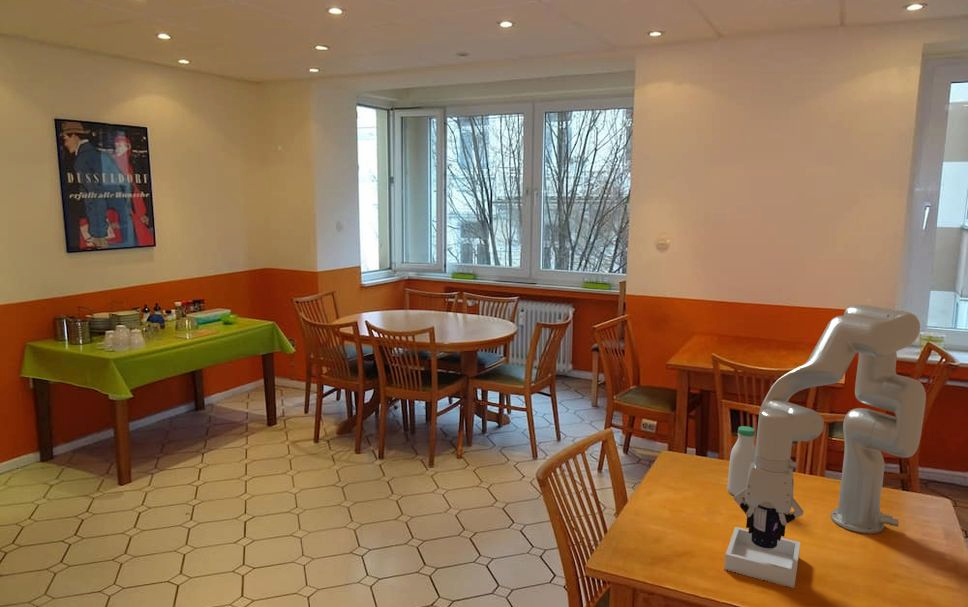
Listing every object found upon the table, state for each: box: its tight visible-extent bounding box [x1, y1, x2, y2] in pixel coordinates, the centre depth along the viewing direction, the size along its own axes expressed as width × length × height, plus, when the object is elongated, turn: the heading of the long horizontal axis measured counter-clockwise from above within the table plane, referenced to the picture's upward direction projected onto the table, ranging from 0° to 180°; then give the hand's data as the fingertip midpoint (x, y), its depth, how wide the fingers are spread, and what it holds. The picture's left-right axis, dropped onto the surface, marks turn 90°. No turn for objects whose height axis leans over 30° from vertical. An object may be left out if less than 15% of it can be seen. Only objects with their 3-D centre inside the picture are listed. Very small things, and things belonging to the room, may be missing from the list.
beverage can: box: [751, 501, 780, 550], centre depth 157 cm, size 6×6×12 cm
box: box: [724, 526, 801, 589], centre depth 159 cm, size 15×15×4 cm
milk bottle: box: [727, 425, 756, 499], centre depth 195 cm, size 8×8×20 cm
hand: (764, 533), depth 158 cm, fingers closed on beverage can, 5 cm apart
